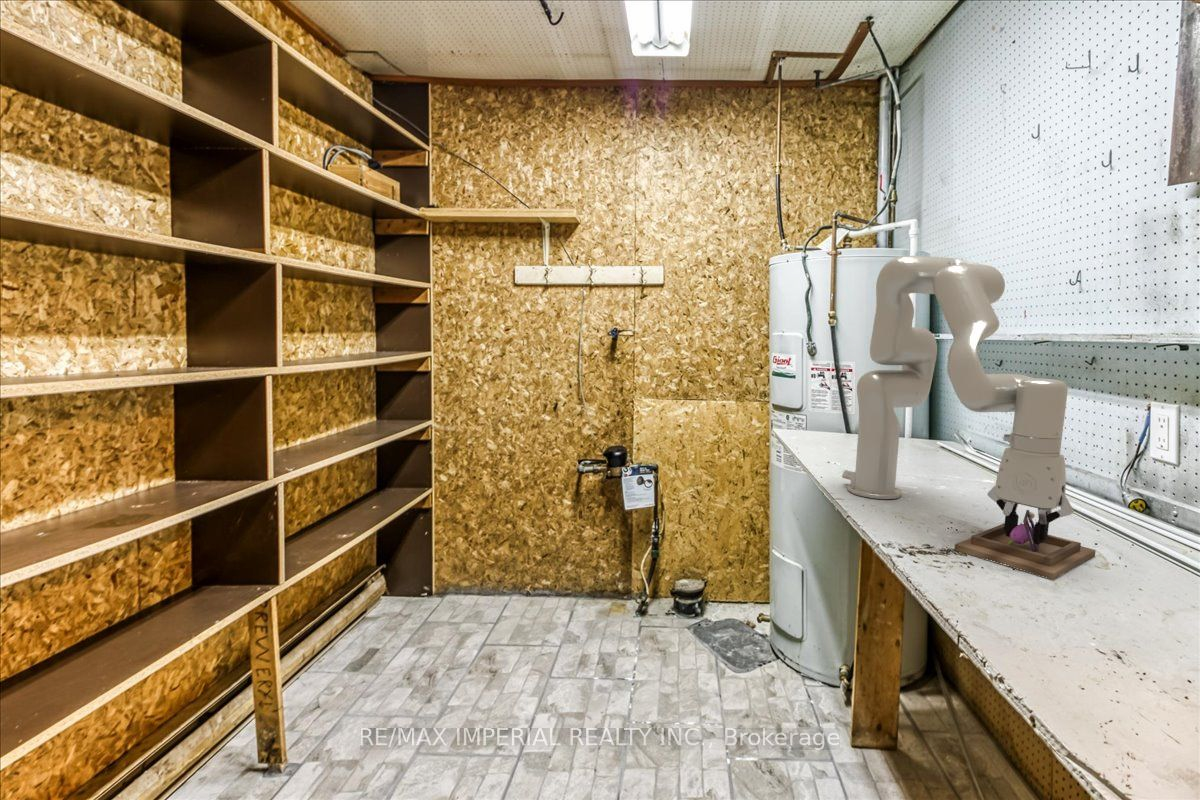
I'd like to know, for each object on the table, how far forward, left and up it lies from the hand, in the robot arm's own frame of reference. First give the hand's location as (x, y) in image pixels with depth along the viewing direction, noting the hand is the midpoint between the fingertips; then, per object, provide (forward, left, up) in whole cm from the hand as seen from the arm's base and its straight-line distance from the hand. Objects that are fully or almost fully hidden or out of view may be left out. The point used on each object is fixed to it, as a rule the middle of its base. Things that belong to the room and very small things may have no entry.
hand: (1024, 538), depth 114 cm
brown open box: (0, 0, -3) cm, 3 cm away
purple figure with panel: (0, -2, -2) cm, 2 cm away
